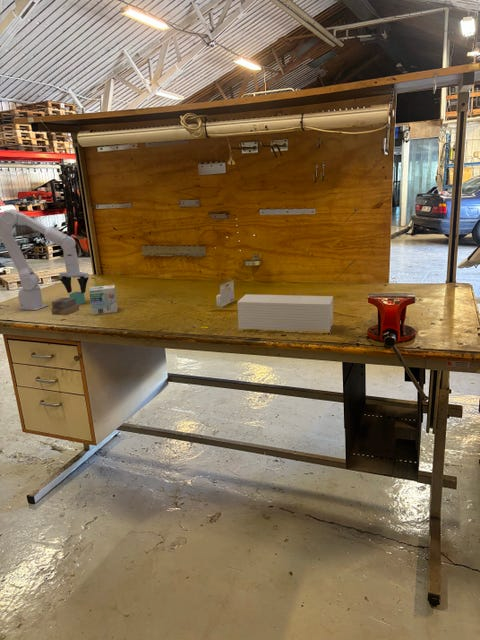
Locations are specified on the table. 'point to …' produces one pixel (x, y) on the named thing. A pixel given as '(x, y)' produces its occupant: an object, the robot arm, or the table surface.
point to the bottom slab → (65, 310)
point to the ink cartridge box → (225, 294)
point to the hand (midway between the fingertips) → (76, 292)
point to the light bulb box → (103, 299)
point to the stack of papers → (285, 312)
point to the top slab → (63, 303)
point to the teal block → (78, 297)
